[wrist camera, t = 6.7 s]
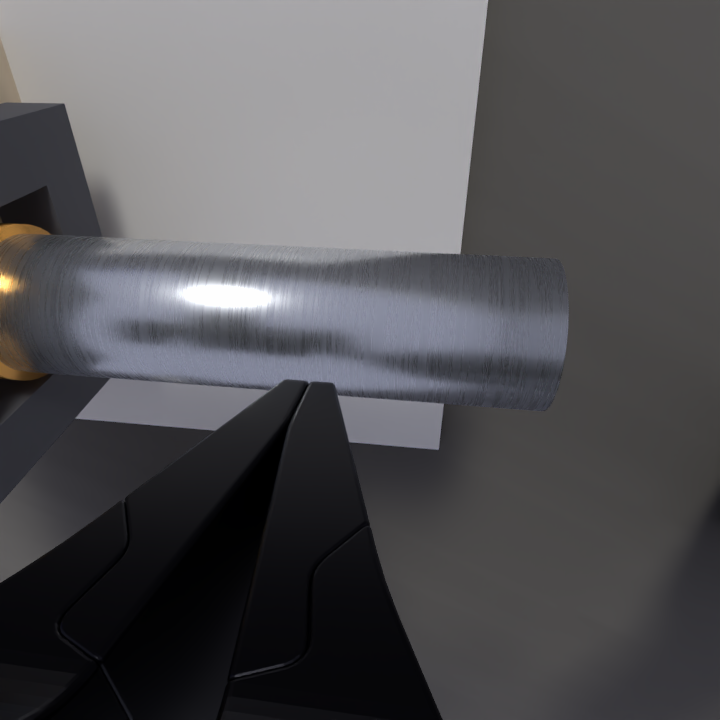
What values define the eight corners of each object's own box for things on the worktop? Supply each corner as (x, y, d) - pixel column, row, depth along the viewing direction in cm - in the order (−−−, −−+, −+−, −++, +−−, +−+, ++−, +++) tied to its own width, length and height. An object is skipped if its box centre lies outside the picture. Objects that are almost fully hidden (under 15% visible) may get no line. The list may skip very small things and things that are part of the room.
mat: (502, -150, 11) (505, -155, 10) (438, 440, 20) (438, 450, 19) (-196, -127, 12) (-217, -131, 12) (38, 406, 21) (30, 414, 21)
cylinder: (549, 222, 11) (585, 298, 8) (521, 359, 13) (543, 458, 10) (-142, 194, 13) (-308, 249, 10) (-76, 318, 15) (-199, 394, 12)
